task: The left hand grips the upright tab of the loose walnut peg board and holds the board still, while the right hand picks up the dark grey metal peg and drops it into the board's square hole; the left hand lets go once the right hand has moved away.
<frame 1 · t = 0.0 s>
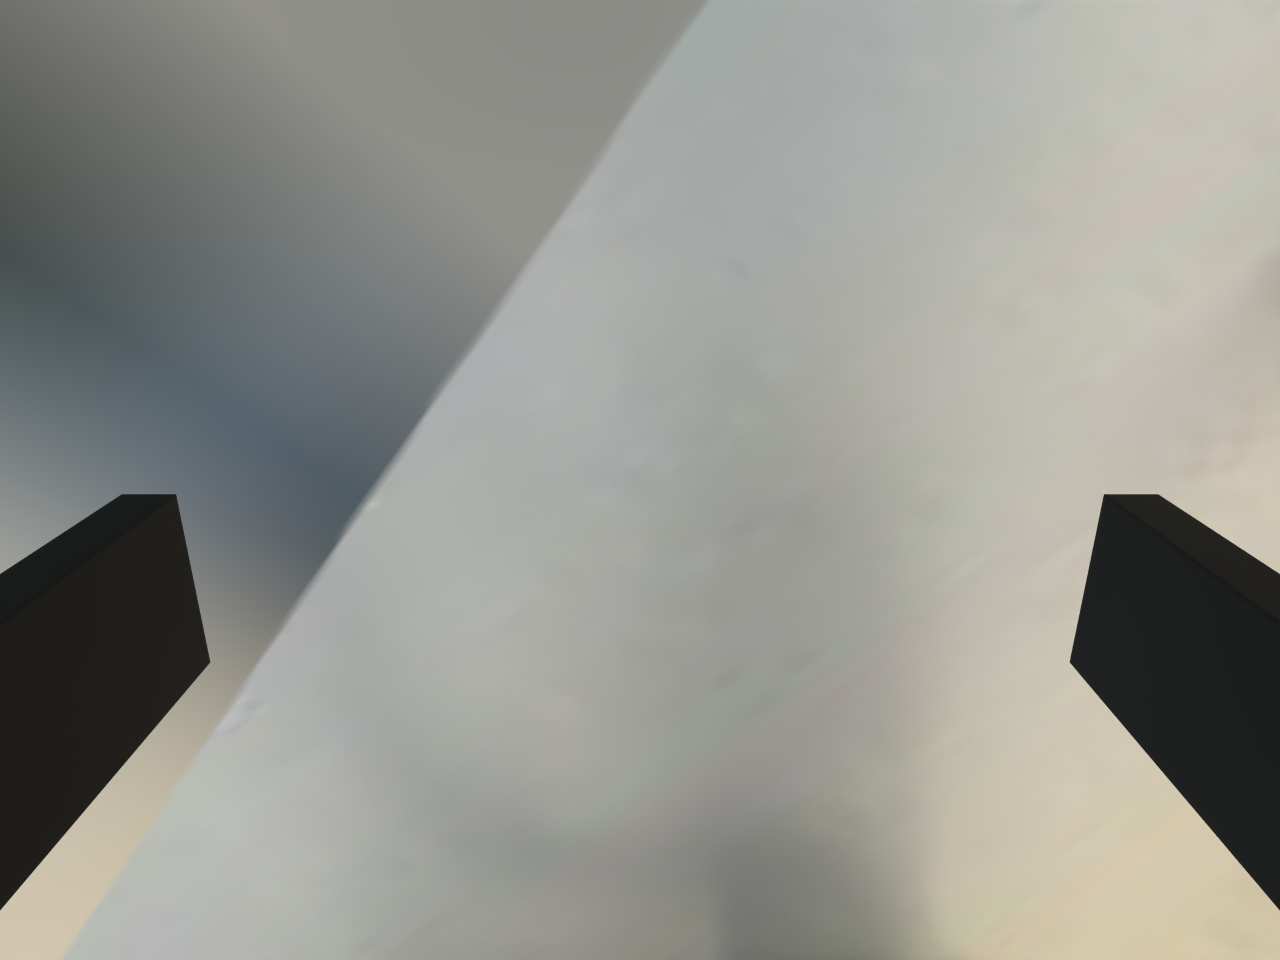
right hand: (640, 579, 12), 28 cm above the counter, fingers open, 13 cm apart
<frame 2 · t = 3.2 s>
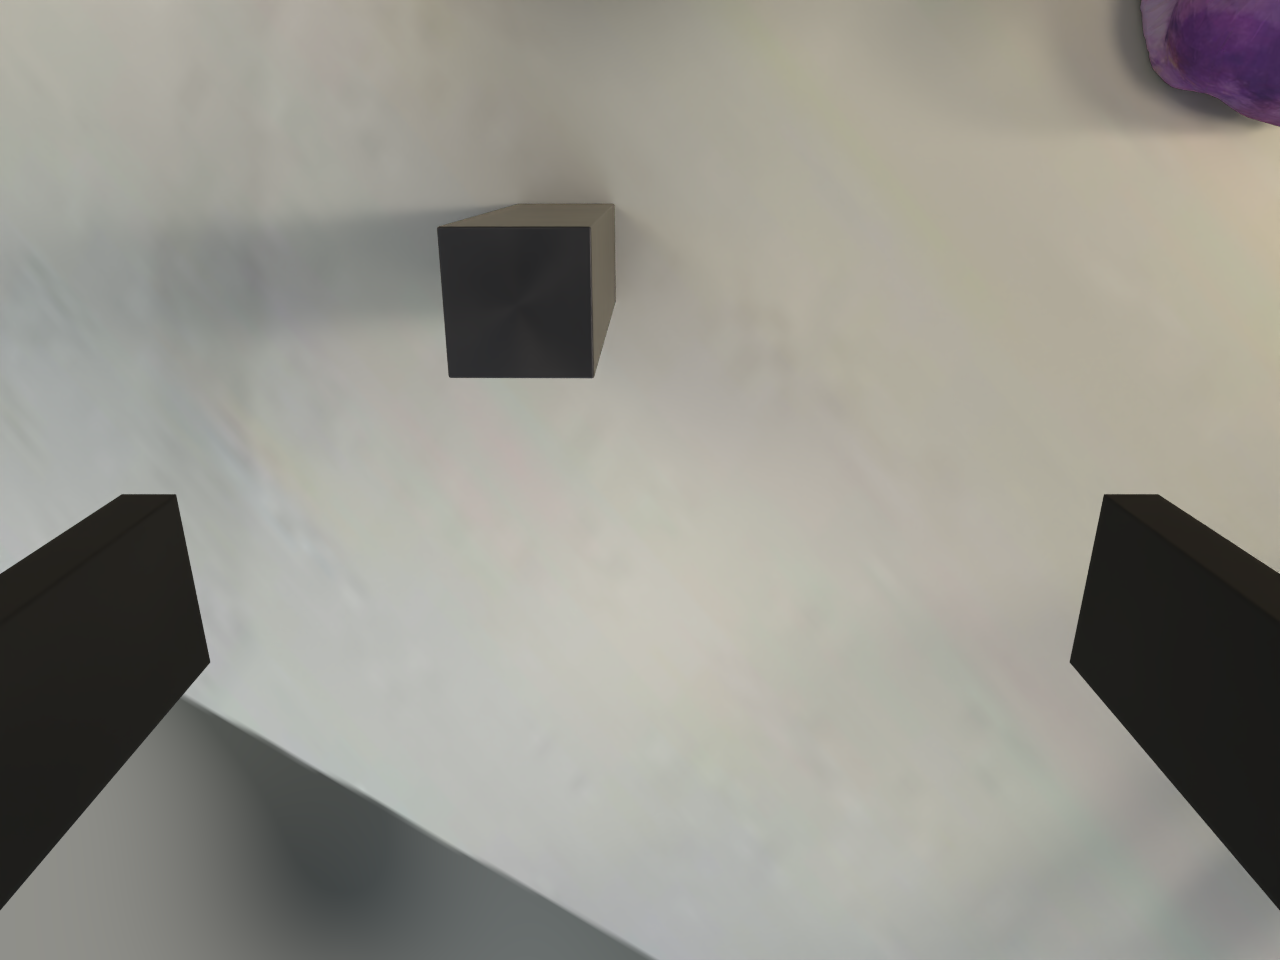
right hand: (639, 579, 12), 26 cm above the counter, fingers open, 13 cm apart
peg: (567, 253, 36), on the counter
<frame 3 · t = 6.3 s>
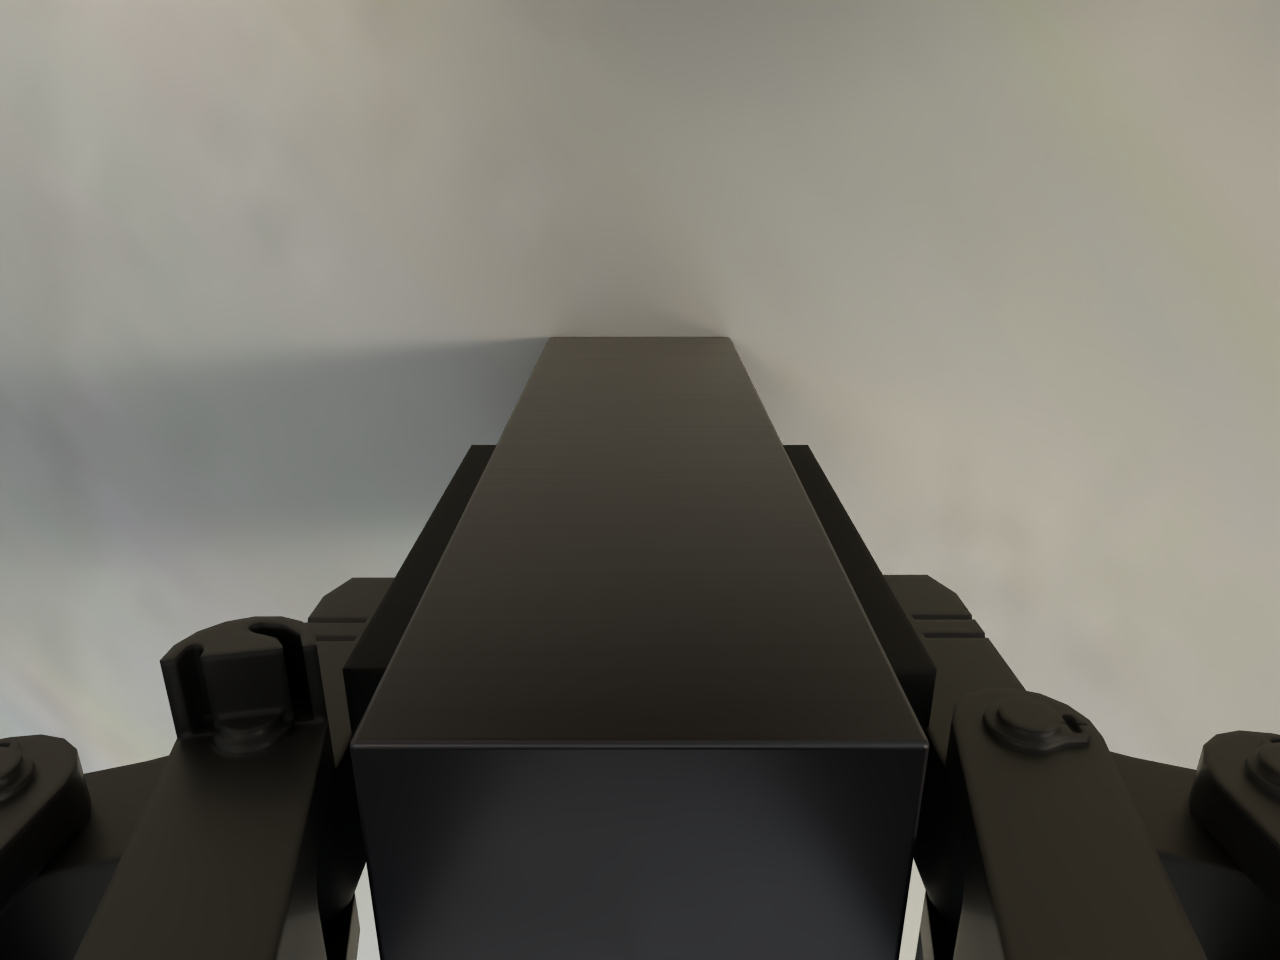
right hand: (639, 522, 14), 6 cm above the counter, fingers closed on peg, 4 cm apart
peg: (639, 424, 20), on the counter, touching right hand
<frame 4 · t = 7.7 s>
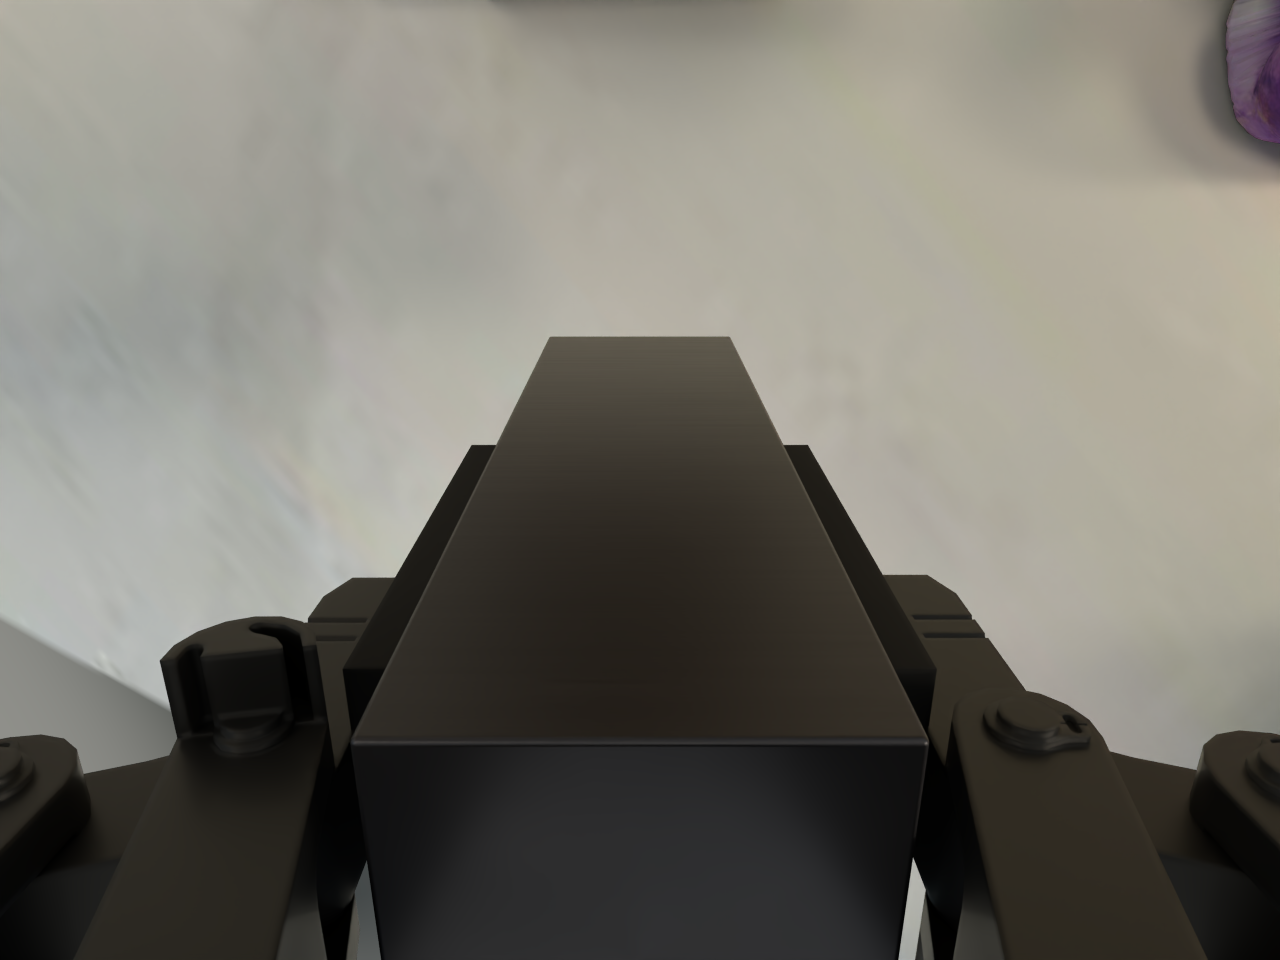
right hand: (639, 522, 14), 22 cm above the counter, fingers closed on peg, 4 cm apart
peg: (639, 423, 20), point 17 cm above the counter, touching right hand
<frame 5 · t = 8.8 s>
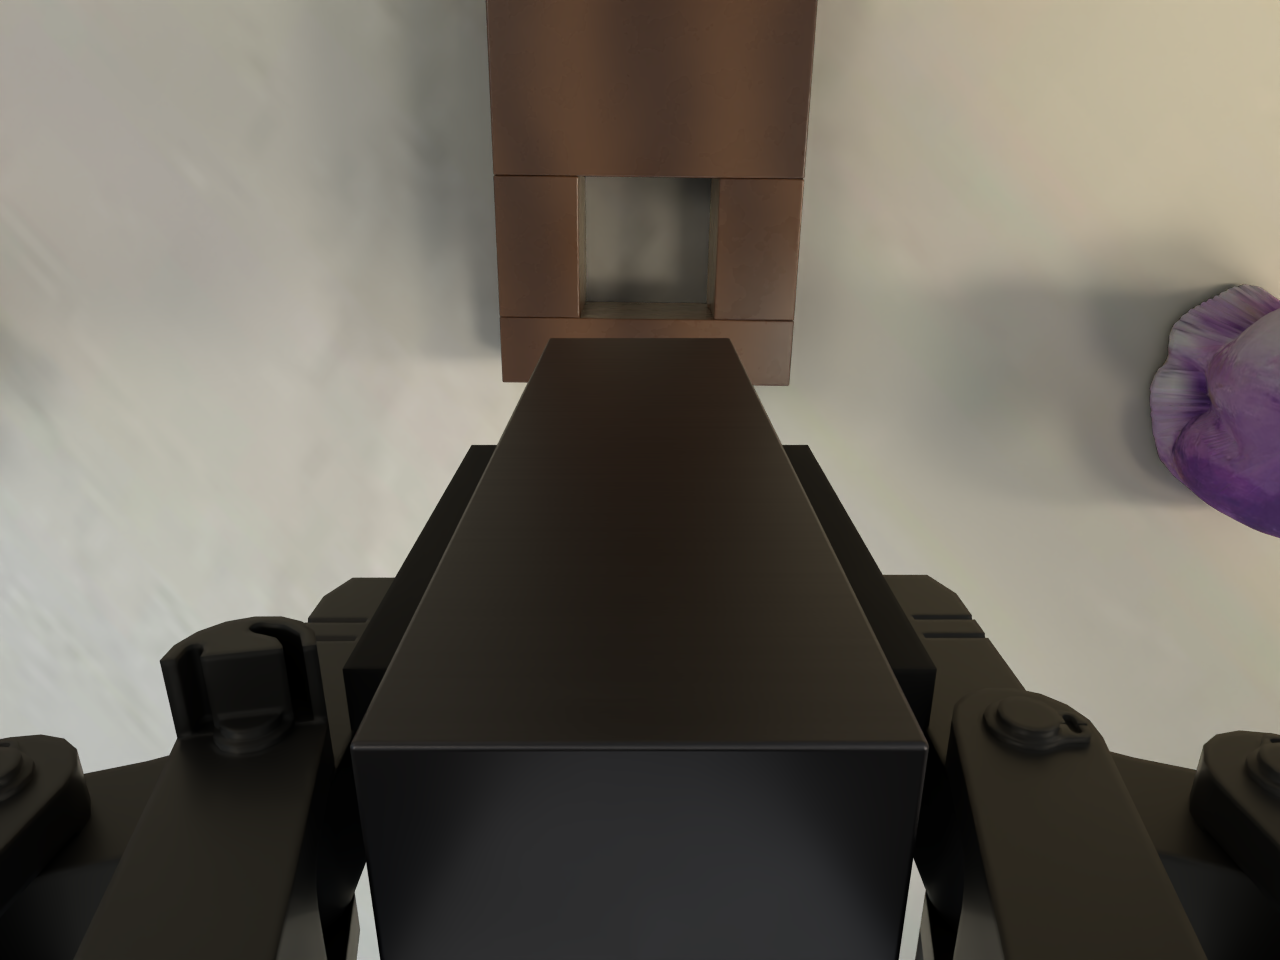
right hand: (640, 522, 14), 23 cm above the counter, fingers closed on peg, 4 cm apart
peg board: (650, 19, 32), on the counter, touching left hand
figurine: (1225, 391, 37), on the counter
peg: (639, 424, 20), point 17 cm above the counter, touching right hand
when the right hand's fingers open (8 cm above the counter, at t = 11.7 s): peg drops 2 cm, resting in peg board.
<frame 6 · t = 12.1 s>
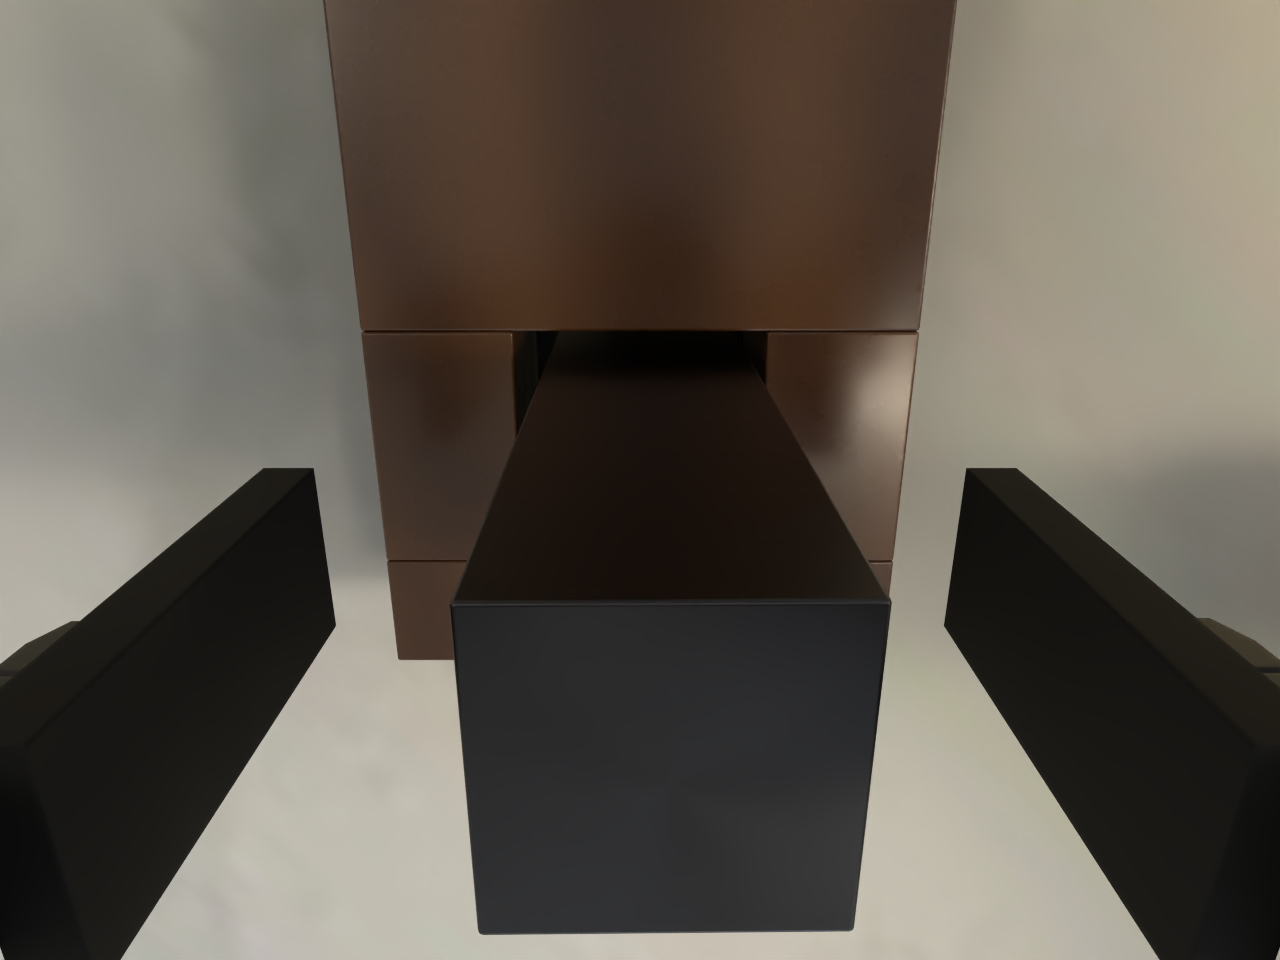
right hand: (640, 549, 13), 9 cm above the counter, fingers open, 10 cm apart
peg board: (640, 44, 19), on the counter, touching left hand
peg: (644, 400, 22), resting in peg board
when the left hand's fingers open (6 cm above the counter, at t = 16.8 s): peg board stays where it is, on the counter.
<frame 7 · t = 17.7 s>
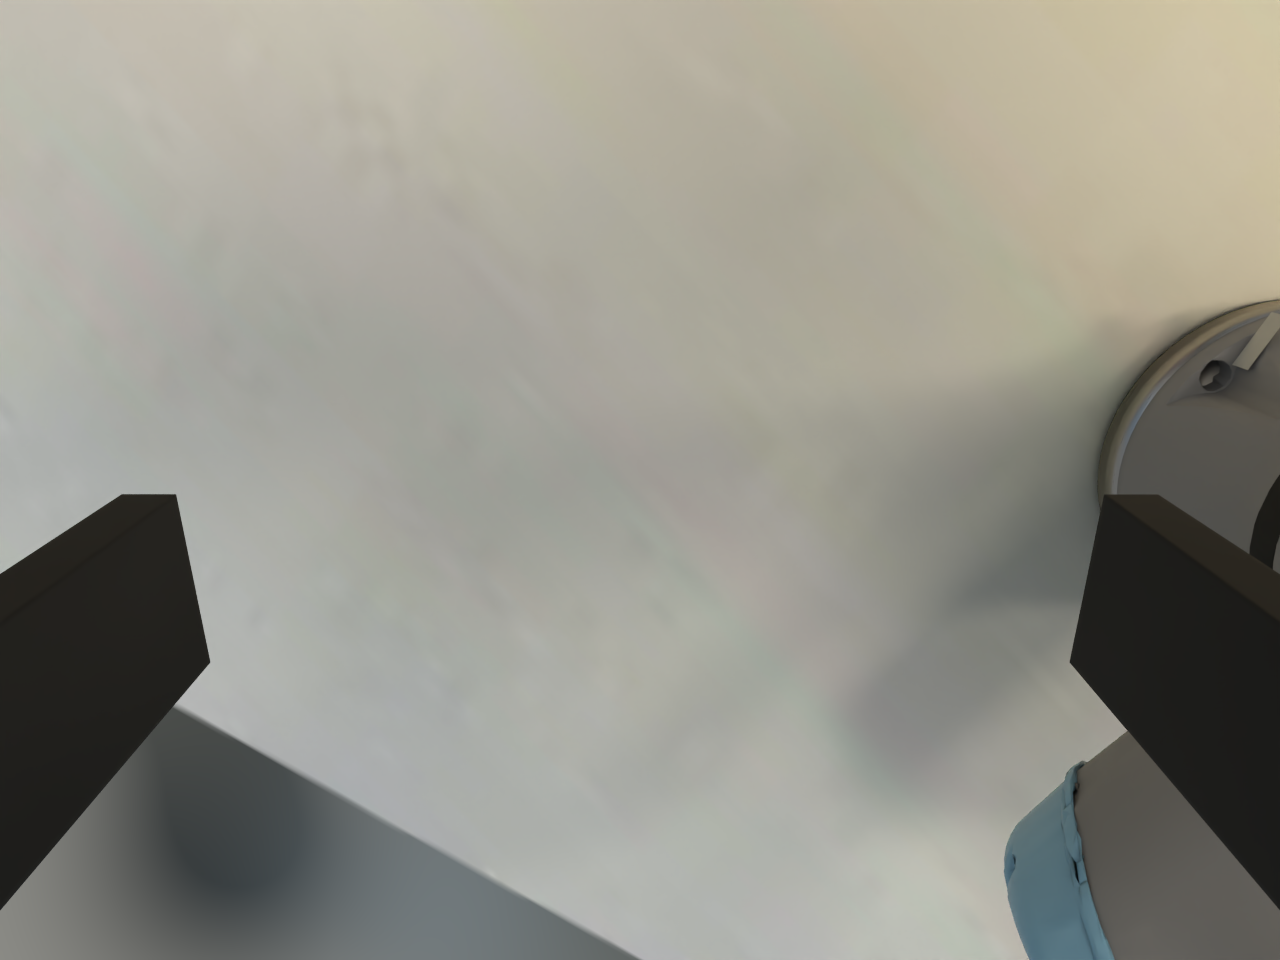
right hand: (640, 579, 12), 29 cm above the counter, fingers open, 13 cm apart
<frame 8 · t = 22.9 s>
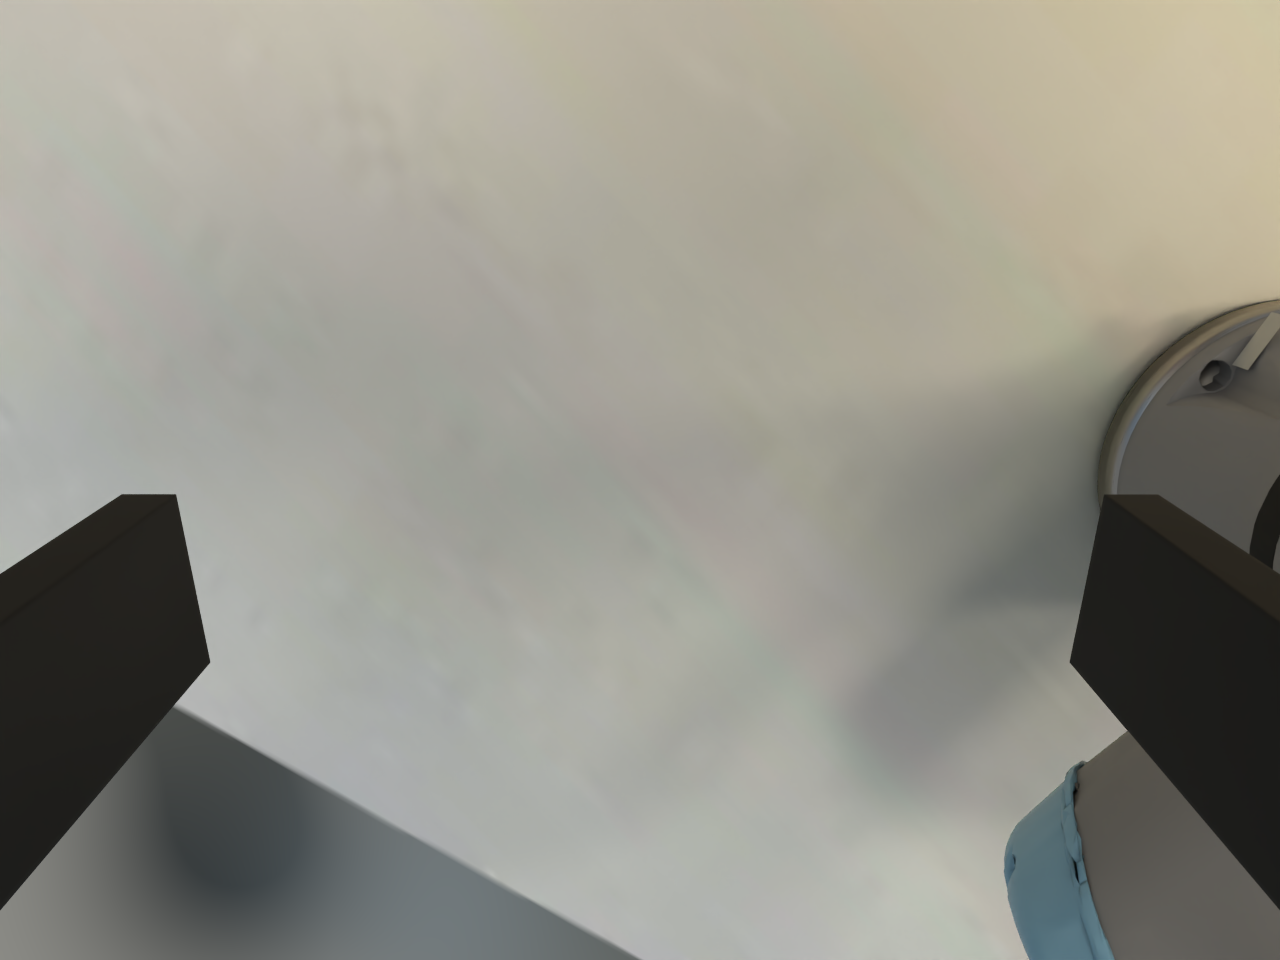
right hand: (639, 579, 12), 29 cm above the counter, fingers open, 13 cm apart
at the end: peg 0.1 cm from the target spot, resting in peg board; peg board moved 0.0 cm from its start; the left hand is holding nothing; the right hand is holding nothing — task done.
